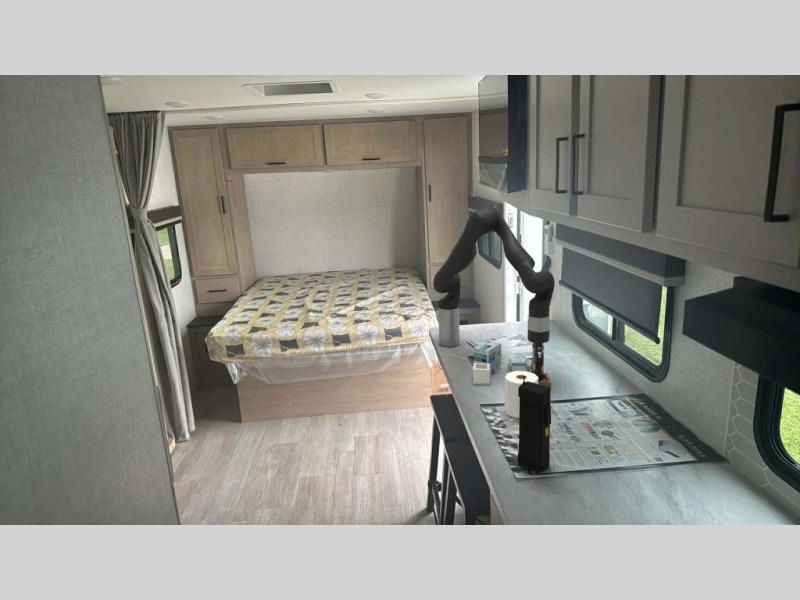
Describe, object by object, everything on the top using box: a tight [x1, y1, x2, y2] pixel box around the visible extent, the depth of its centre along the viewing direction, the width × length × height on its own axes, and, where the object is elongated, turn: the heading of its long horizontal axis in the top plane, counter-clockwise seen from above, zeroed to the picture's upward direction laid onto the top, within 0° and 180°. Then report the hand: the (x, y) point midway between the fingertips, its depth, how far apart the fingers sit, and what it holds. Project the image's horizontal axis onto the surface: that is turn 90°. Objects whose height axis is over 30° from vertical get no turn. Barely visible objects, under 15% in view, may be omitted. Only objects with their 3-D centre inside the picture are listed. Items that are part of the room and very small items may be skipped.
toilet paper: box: [504, 371, 538, 419], centre depth 166 cm, size 10×10×12 cm
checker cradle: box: [505, 357, 532, 374], centre depth 198 cm, size 11×12×4 cm
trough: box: [538, 373, 552, 389], centre depth 187 cm, size 8×8×2 cm
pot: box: [472, 362, 491, 386], centre depth 191 cm, size 6×6×6 cm
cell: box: [531, 355, 545, 381], centre depth 186 cm, size 4×4×9 cm
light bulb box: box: [473, 340, 502, 377], centre depth 200 cm, size 11×7×11 cm, turn 143°
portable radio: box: [517, 376, 552, 474], centre depth 135 cm, size 8×6×25 cm
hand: (537, 372), depth 186 cm, fingers closed on cell, 4 cm apart
